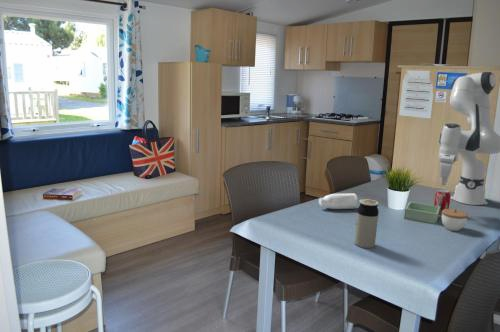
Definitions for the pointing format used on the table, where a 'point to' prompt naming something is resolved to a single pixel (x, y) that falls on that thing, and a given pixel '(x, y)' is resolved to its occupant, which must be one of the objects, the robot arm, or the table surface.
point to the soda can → (442, 199)
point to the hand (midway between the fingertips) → (444, 183)
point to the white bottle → (339, 201)
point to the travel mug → (366, 223)
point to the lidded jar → (454, 219)
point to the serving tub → (422, 212)
